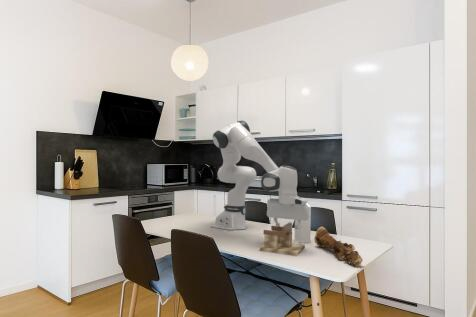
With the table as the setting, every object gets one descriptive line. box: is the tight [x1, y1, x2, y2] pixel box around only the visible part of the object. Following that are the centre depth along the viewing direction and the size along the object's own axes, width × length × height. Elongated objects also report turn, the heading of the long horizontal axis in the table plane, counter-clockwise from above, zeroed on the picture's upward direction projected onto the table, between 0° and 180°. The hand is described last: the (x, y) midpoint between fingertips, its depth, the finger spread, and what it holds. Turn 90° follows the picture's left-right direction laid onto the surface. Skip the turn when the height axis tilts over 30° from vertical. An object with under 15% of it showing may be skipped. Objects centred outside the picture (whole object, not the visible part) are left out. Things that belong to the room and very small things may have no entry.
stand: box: [259, 230, 306, 257], centre depth 158 cm, size 18×16×8 cm
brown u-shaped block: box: [263, 221, 293, 237], centre depth 159 cm, size 10×13×4 cm
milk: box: [294, 202, 312, 244], centre depth 174 cm, size 6×6×22 cm
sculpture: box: [313, 226, 363, 267], centre depth 149 cm, size 9×14×35 cm
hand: (287, 228), depth 157 cm, fingers open, 8 cm apart
